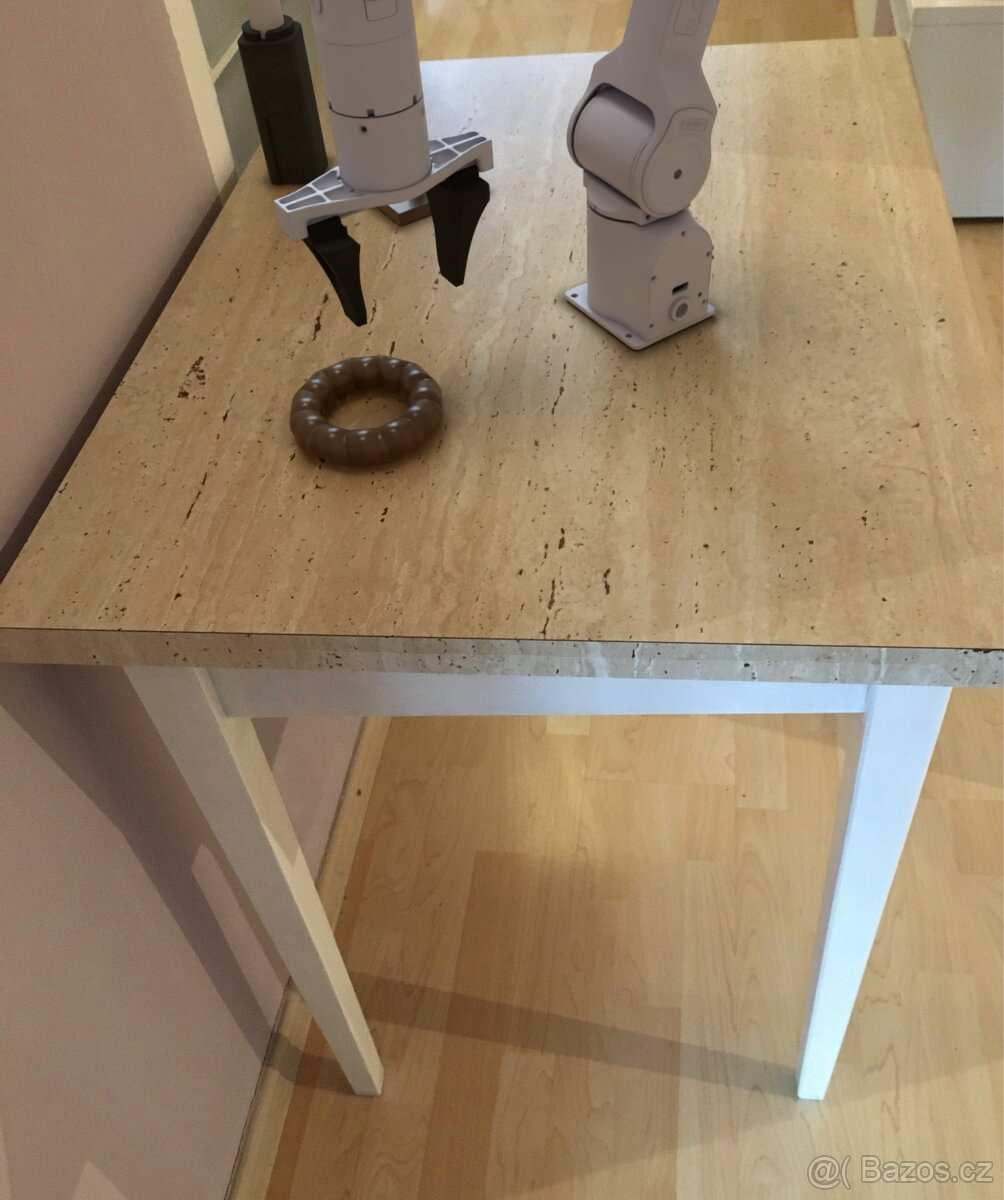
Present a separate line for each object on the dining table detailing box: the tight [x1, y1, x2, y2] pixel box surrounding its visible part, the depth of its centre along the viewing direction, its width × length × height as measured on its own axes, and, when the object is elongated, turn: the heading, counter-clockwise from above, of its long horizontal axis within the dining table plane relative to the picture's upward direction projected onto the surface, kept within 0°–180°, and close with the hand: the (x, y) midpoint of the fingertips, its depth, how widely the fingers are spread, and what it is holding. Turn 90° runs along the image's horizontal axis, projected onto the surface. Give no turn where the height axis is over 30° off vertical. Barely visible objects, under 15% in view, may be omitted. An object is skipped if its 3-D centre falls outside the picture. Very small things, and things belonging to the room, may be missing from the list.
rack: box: [376, 192, 432, 227], centre depth 96 cm, size 9×9×5 cm
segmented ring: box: [289, 354, 443, 467], centre depth 75 cm, size 11×11×2 cm
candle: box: [236, 0, 329, 185], centre depth 93 cm, size 5×5×25 cm
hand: (405, 299), depth 72 cm, fingers open, 7 cm apart
